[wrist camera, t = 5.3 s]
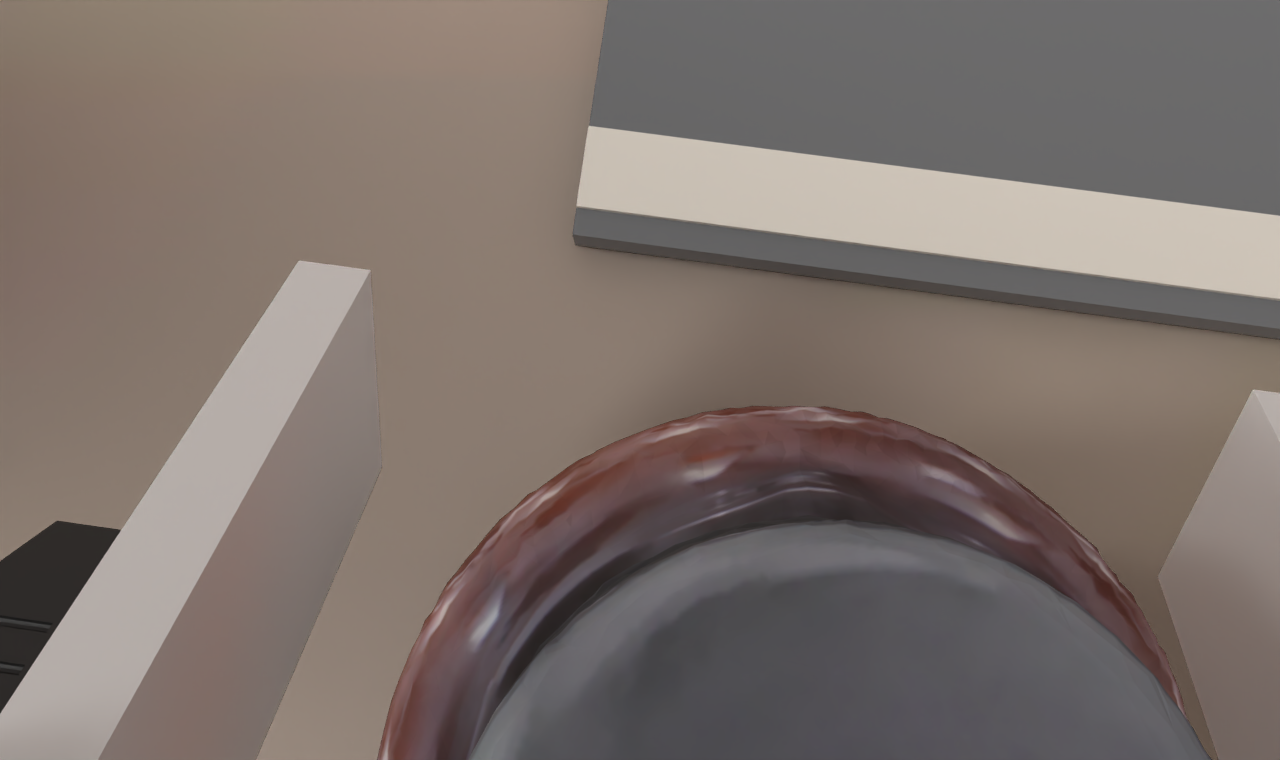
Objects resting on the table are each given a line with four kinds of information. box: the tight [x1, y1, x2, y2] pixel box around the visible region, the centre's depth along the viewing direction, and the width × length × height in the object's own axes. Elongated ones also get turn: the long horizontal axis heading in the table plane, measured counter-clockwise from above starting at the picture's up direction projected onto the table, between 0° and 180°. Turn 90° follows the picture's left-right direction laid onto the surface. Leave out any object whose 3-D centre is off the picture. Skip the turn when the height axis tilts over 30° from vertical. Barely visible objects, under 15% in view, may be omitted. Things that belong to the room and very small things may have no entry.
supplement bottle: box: [377, 406, 1212, 760], centre depth 11 cm, size 6×6×11 cm
